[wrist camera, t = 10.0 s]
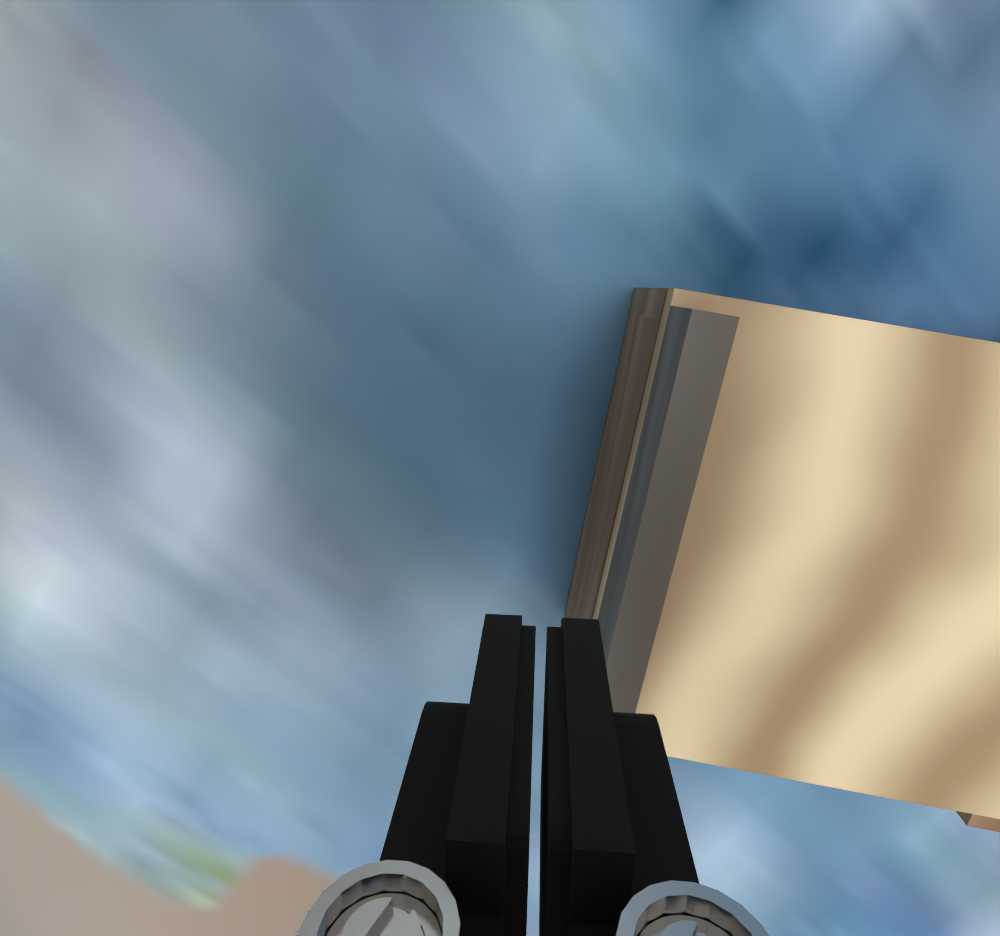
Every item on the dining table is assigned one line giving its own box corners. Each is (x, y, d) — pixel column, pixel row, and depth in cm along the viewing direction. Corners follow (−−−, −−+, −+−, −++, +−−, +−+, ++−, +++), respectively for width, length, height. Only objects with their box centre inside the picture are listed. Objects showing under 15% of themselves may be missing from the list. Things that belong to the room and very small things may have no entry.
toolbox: (557, 646, 33) (559, 756, 25) (690, 24, 25) (754, -95, 17) (960, 721, 32) (1090, 858, 24) (1231, 108, 24) (1550, 25, 16)
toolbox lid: (569, 719, 24) (572, 801, 20) (668, 288, 19) (697, 288, 16) (992, 799, 24) (1078, 899, 20) (1194, 376, 19) (1357, 399, 15)
